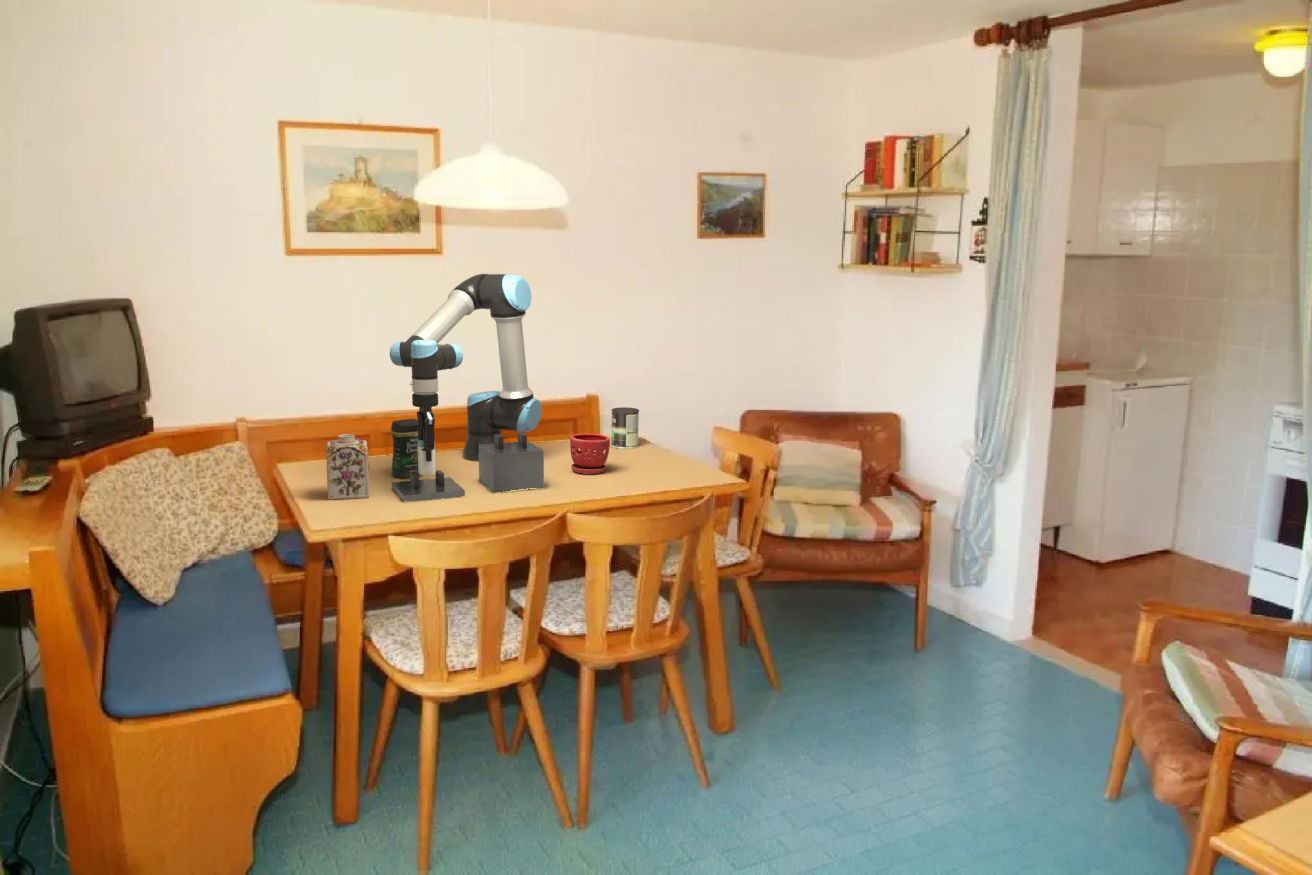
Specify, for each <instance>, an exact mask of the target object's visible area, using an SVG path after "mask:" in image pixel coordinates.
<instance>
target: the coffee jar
mask: <svg viewBox="0 0 1312 875" xmlns="http://www.w3.org/2000/svg"><path fill="white" fill-rule="evenodd" d="M390 434H391V436H392V441H393V442H392V444H393V445H392V446H393V447H392V449H393V450H392V464H391V465H392V466H391V476H393V477H394V478H396V479H398V478H400V479H411V473H412V472H416V473H417V474H418V475H419V477H421V476H422V475H420V474H419V473H418V419H417V418H408V419H407V418H405V419H399V420H398V419H397V420H393V421H392V422H391V427H390Z"/></svg>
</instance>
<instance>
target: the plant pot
mask: <svg viewBox="0 0 1312 875" xmlns="http://www.w3.org/2000/svg"><path fill="white" fill-rule="evenodd" d="M569 444H570V447H569V448H570V456H571V459H572V462H573V463H572V464H571V466H570V468H571V469H572V471H573V472H575V473H576V472H577V473H578V474H581V473H582V474H583V475H596V473H597V474H602V473H603V472H604V471H605V470H606V469H607V466H606V465H605V464H606V462H607V460H608V457H609V453H610V446H611V438H610V437H609V436H607V435H604V434H597V433H576V434H572V435H571V436H570V440H569ZM582 474H581V475H582Z"/></svg>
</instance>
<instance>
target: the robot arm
mask: <svg viewBox="0 0 1312 875" xmlns="http://www.w3.org/2000/svg"><path fill="white" fill-rule="evenodd" d="M531 302H532V292H531V287H530V285H529V283H528V281H527V280H526V279H525V278H524V277H523V276H522V275H518V274H517V275H516V274H511V273H510V274H509V273H507V274H506V273H498V274H497V273H479V274H475V275H473V276H471V277H469V278H467V279H465V280H464V281H462V282H460V283H459V284H457V285H456V286H455V287H454V288H453V289H452V290H451V291H450V292H449V293H448V296H447V299H446V300H445V302H443V304H442V305H441V306H439V307H438V309H436V310H435V312H433V314H431V315H430V317H428V319H426V321H424V323H423V324H421V326H420V327H418V328H417V330H416V331H415V332H414V333H413V334H412V335H410V336H409V337H408V339H407V340H405V341H396V342H393V344H391V347H390V349H389V359H390V360H391V362H392V364H394V365H395V366H397V367H398V366H399V367H403V368H411V381H410V382H409V386H411V390H412V391H411V392H413V393H412V394H411V403H412V407H415V408H419V409H418V411H417V412H416V417H417V418H416V419H417V420H418V440H424V449H422V451H423V470H424V472H433V449H434V448H435V449H436V445H435V446H434V441H435V423H436V422H435V421H436V418H435V416H434V412H433V411H432V408H433V407H434V408H435V407H437V406H438V405H439V394H438V393H437V392H438V391H439V376H438V371H444V370H445V371H446V370H453V369H455V368H458V367H460V366H461V364H462V362H463V360H464V353H463V351H462V349H461V348H460V346H459V345H457V344H456V343H445V344H439V343H440V342H441V341H442V340H443V339H444V338H445V337H446V336H447V335H448V334H449V333H450V331H452V330H453V329H454V328H455V326H456V325H458V323H459V322H460V321H461V320H462V319H463V318H464V317H465V316H470V315H471V314H473V312H474V311H477V310H489V312H490V318H492V319H493V320H494V321H495V325H496V334H497V336H496V337H497V345H498V353H499V354H498V355H499V362H500V363H499V364H500V374H501V383H502V390H501V391H500V390H488V391H481V392H474V393H471V394H469V395H468V397H467V404H466V412H467V414H466V416H467V417H466V418H467V419H466V420H467V438H466V441H465V444H464V447H463V450H462V457H463V459H465V460H469V461H474V462H475V461H477V462H479V444H494V434H500V435H501V436H502V430H504V431H511V432H512V431H514V432H517V433H525V432H526V433H527V432H528V433H529V432H532V431H533V430H534V429H535V428H536V427H537V426H538V425H539V422H540V420H541V417H542V410H543V409H542V408H543V407H542V403H541V401H540V400H539V399H537V398H534V390H532V389H531V388H530V387H529V382H528V372H527V363H526V362H527V360H526V352H525V351H526V350H525V341H524V339H525V338H524V331H523V330H524V329H523V318H524V317H525V316H526V315H527V314H526V311H527V310H528V309H529V308H530V306H531Z"/></svg>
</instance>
